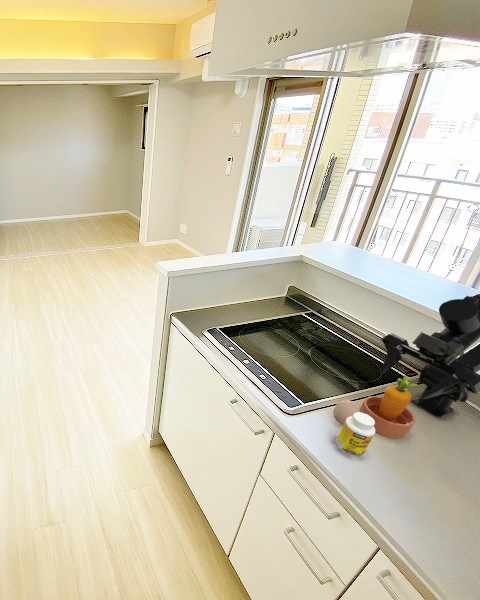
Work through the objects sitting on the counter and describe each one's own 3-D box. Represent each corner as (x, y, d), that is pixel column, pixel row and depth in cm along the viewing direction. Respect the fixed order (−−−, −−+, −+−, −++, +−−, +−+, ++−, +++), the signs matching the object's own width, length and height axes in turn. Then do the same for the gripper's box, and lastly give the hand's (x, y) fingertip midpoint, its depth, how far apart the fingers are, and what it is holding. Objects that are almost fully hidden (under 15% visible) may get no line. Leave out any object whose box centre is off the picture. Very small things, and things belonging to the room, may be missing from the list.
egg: (327, 413, 91) (335, 393, 87) (349, 417, 89) (359, 397, 86) (333, 428, 86) (342, 407, 83) (357, 432, 85) (368, 412, 81)
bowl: (373, 405, 92) (380, 392, 90) (416, 432, 84) (424, 418, 82) (348, 415, 90) (355, 402, 87) (389, 444, 81) (398, 430, 79)
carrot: (378, 412, 89) (401, 369, 82) (399, 426, 85) (425, 382, 78) (366, 418, 88) (388, 374, 81) (387, 432, 84) (412, 387, 77)
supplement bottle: (340, 455, 79) (355, 425, 74) (331, 436, 84) (345, 407, 79) (367, 460, 78) (384, 430, 73) (357, 440, 83) (372, 411, 78)
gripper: (401, 305, 82) (353, 349, 84) (506, 346, 66) (442, 400, 68) (410, 325, 87) (364, 367, 90) (509, 368, 71) (449, 417, 74)
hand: (400, 385), depth 80 cm, fingers open, 9 cm apart
